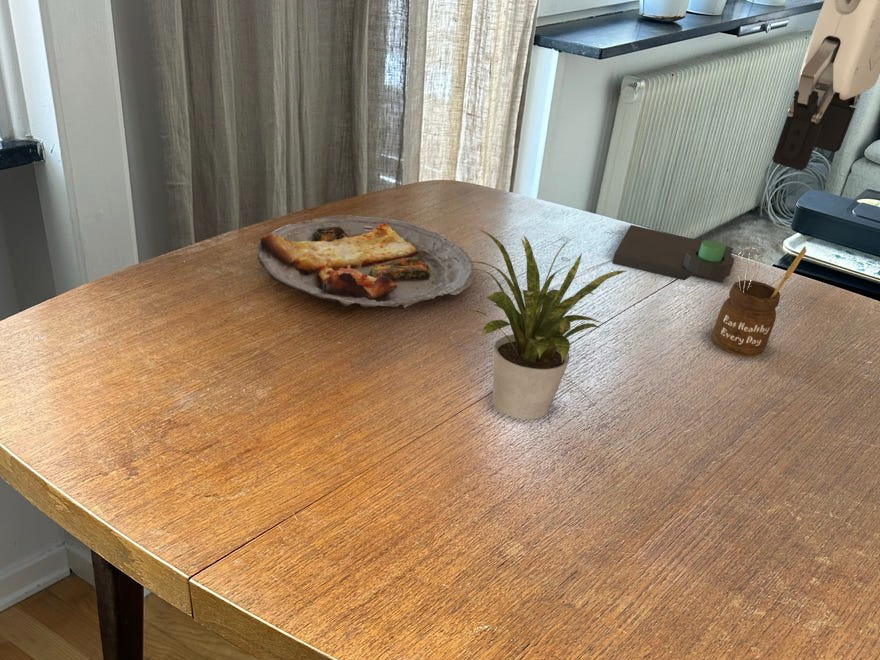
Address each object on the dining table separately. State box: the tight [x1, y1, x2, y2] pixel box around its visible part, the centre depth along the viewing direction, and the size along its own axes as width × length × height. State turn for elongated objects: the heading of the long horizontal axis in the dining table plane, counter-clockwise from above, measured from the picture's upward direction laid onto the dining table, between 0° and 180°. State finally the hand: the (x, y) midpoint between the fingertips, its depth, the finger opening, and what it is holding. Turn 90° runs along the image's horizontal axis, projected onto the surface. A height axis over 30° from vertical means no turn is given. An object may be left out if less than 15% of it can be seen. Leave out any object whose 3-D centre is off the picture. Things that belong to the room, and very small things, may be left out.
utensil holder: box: [710, 245, 807, 357], centre depth 102 cm, size 6×6×12 cm
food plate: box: [256, 214, 474, 309], centre depth 110 cm, size 25×23×4 cm
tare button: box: [698, 239, 727, 262], centre depth 119 cm, size 3×3×2 cm
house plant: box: [467, 227, 627, 420], centre depth 86 cm, size 14×14×16 cm
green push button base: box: [611, 224, 735, 284], centre depth 123 cm, size 14×13×3 cm
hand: (806, 156), depth 92 cm, fingers open, 9 cm apart
